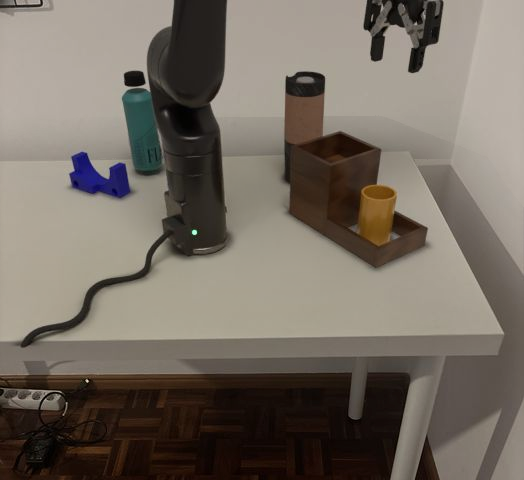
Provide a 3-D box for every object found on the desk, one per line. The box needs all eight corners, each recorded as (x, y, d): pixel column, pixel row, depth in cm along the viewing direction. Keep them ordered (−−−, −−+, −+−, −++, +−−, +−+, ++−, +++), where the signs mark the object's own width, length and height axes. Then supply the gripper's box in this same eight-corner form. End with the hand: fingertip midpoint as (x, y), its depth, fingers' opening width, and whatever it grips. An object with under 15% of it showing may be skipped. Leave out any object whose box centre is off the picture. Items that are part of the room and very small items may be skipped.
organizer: (376, 268, 92) (386, 194, 84) (289, 213, 107) (290, 145, 98) (424, 245, 97) (439, 174, 89) (335, 196, 112) (340, 130, 103)
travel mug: (321, 186, 115) (327, 83, 101) (283, 187, 115) (285, 83, 102) (319, 170, 120) (324, 70, 107) (283, 171, 121) (284, 71, 107)
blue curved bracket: (72, 187, 116) (65, 159, 112) (88, 179, 119) (81, 151, 115) (115, 201, 111) (109, 172, 107) (130, 192, 114) (125, 163, 110)
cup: (372, 252, 96) (378, 203, 90) (349, 238, 99) (354, 190, 93) (396, 241, 98) (404, 193, 92) (373, 228, 102) (379, 181, 96)
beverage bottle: (151, 180, 118) (135, 79, 105) (127, 173, 121) (109, 74, 107) (170, 169, 122) (157, 70, 109) (147, 162, 125) (132, 65, 112)
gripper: (359, -54, 87) (349, 60, 97) (431, -44, 78) (411, 80, 89) (393, -57, 90) (379, 54, 101) (466, -49, 81) (442, 72, 92)
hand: (394, 66), depth 95 cm, fingers open, 8 cm apart
